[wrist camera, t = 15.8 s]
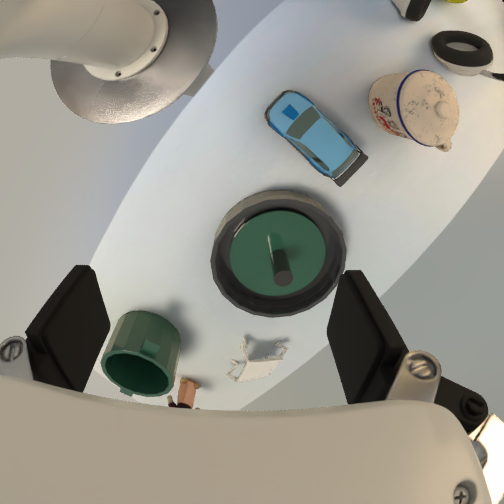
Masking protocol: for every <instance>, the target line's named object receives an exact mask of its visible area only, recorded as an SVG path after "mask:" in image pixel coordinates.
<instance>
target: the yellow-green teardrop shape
mask: <svg viewBox="0 0 504 504" xmlns="http://www.w3.org/2000/svg"><path fill="white" fill-rule="evenodd" d="M447 1H449V2H452V3H463V2H466V1H467V0H447Z"/></svg>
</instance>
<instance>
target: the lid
mask: <svg viewBox="0 0 504 504" xmlns="http://www.w3.org/2000/svg"><path fill="white" fill-rule="evenodd" d="M325 254H326V246H325V241H324V238H323V236H322V234H321V232H320V230H319V229H318V227H317V226H316V225H315V224H314V223H313V222H312V221H311V220H310V219H308V218H307V217H305V216H303V215H302V214H299V213H296V212H293V211H288V210H273V211H267V212H264V213H261V214H259V215H256V216H254V217H253V218H251V219H249V220H248V221H247V222H246V223H244V224H243V225H242V226H241V227H240V229H239V230H238V231H237V233H236V234H235V236H234V238H233V241H232V243H231V248H230V263H231V267H232V270H233V272H234V274H235V276H236V277H237V279H238V280H239V281H240V282H241V283H242V284H243V285H244V286H246V287H247V288H248V289H250V290H252V291H254V292H256V293H259V294H263V295H269V296H281V295H287V294H291V293H294V292H296V291H298V290H300V289H302V288H304V287H305V286H307V285H308V284H309V283H311V282H312V281H313V280H314V279H315V278H316V276H317V275H318V274H319V272H320V270H321V268H322V266H323V264H324V260H325Z"/></svg>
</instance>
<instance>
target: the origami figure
mask: <svg viewBox="0 0 504 504" xmlns="http://www.w3.org/2000/svg"><path fill="white" fill-rule="evenodd" d="M243 342H244V344H241V347H240V348H241V350H242V353H243V355H244V358H245V360H246V364H245V366H244V367H243V369H242V371H241V373H240V375H239V377H238V378H237V377H235V376H233V375H231V374H230V373H231V372H232V371H233V370H234V369H235V368H236V367H237V365H238V363H237V362H236V361H235V360H232V362H233V363H234V364H235V365H236V366H235V367H233V368H232V369H231V370H230V371H229V372H228V373H227V374H226V375H228V376H229V377H230V378H232V379H233V380H234V381H235V382H243V381H249V380H254V379H257V378H260V377H263V376H266V375H270V373H271V371H272V370H273V369H274V368H275V367H276V365H277V364H278V363H279V362H280V361H281V360H283V359H282V357H283V355H284V354H285V352H286V351H287V349H288V348H287V347H284V346H281V345H278V344H279V343H280V342H281V341H279V342H278V343H277V344H276V345H275V346H277V347H280V348H284V350H283V351H282V353H281V354H280V355H279V357H277V358H270V359H268V357H267V356H268V355H269V354H267V355H266V357H265V359H261V360H249V358H248V355H247V351H246V349H247V347H248V344H247V340H246V338H245V337H244V338H243Z"/></svg>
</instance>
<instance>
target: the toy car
mask: <svg viewBox="0 0 504 504" xmlns="http://www.w3.org/2000/svg"><path fill="white" fill-rule="evenodd" d="M265 119H266V120H267V121H268V124H269V126H270V127H271V128H272V129H274V130H275V131H276V132H277V133H278V134H280V135H281V136H282V137H284V138H285V139H287V140H288V141H289V142H290V143H291V144H292V145H293V146H294V147H295V148H296V149H297V150H298V151H299V152H300V153H301V154H302V155H303V156H304V157H305V158H306V159H307V160H308V161H309V163H310V164H311V165H312V166H313V167H314V168H315V169H316V170H317V171H318V172H320V173H322V174H323V175H324V176H327V177H330V178H331V179H332V178H334V179H335V178H336V177H337V176H338V175H340V173H342V172H343V171H344V170H345V169H346V168H347V166H348V165H349V164H350V163H351V162H352V161H353V160H354V159H355V158H356V156H357V155H358V152H359V153H360V156H359V157H358V158H357V159H356V161H355V162H354V163H353V164H352V165H351V166H350V167H349V168H348V169H347V170H346V171H345V172H344V173H343V174H342V175H341V176H340V177H339V178H337V179H335V180H333V179H332V180H333V181H334V182H335V183H336V184H337V185H338V186H339V187H341V186H342V185H343V184H344V183H345V182H346V181H347V180H348V179H349V178H350V177H351V176H352V175H353V174H354V173H355V172H356V171H357V170H358V169H359V168H360V167H361V166H362V165H363V164H364V163H365V162H366V160H367V159H368V156H366V155H365V154H364V153H363V152H362V150H360V149H359V148H358V147H357V148H358V149H359V150H360V151H361V152H360V151H358V150H356V148H355V146H354V144H353V142H352V141H351V140H350V138H349V137H348V136H347V135H346V134H345V133H343V132H342V131H341V130H339V129H338V128H337V127H336V126H335V125H334V124H333V123H332V122H331V121H330V120H329V119H328V118H326V117H325V116H324V115H323V114H322V113H321V112H320V111H319V110H318V109H317V108H315V107H314V104H313V103H312V102H311V101H310V100H309V99H308V98H306V97H305V96H304V95H302V94H300V93H298V92H293V91H291V90H287V91H285V92H283V93H281V95H279V96H278V97H277V98H276V99H275V100H274V101H273V102H272V104H271V105H270V106H269V107H268V108H267V110H266V112H265ZM356 146H357V145H356Z"/></svg>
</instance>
